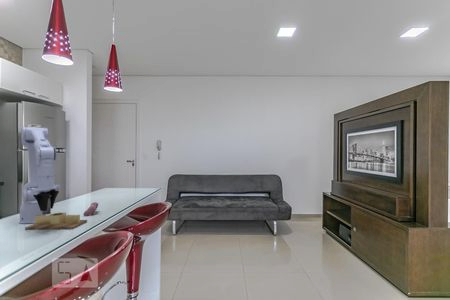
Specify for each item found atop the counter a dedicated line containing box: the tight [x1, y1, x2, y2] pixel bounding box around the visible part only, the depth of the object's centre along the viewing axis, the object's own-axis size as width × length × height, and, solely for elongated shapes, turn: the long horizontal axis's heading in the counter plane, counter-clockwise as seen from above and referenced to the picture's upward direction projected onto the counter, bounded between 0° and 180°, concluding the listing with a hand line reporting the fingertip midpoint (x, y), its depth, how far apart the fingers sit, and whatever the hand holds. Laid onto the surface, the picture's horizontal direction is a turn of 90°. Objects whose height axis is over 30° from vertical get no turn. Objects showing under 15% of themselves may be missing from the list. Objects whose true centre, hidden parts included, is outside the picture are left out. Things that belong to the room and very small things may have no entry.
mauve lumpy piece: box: [83, 201, 99, 217], centre depth 137 cm, size 10×5×7 cm, turn 17°
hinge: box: [34, 212, 81, 226], centre depth 115 cm, size 19×6×4 cm, turn 90°
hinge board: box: [24, 219, 88, 231], centre depth 115 cm, size 20×11×1 cm, turn 90°
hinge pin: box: [42, 195, 52, 215], centre depth 107 cm, size 3×3×8 cm
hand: (46, 209), depth 107 cm, fingers closed on hinge pin, 3 cm apart
